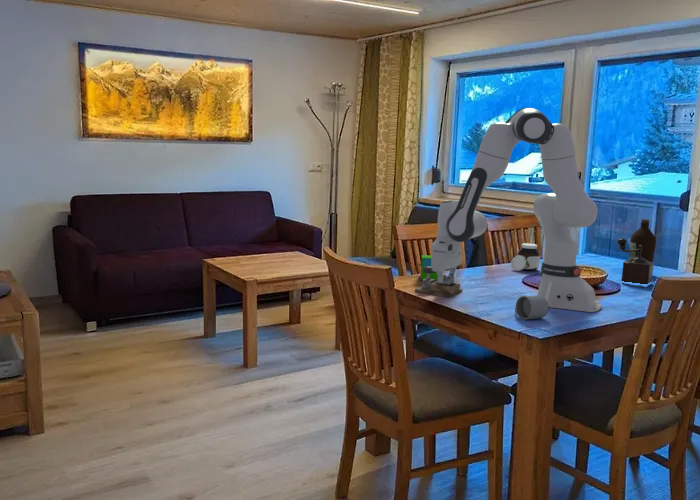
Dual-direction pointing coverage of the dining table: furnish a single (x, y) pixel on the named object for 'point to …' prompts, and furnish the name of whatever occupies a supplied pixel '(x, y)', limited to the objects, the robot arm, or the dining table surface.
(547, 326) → the dining table surface
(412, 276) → the dining table surface
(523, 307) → the ceramic mug
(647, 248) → the olive oil
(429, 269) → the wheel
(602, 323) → the dining table surface
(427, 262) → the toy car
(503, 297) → the dining table surface
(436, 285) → the chassis
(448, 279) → the engine block
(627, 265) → the manual coffee grinder
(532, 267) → the spread jar
